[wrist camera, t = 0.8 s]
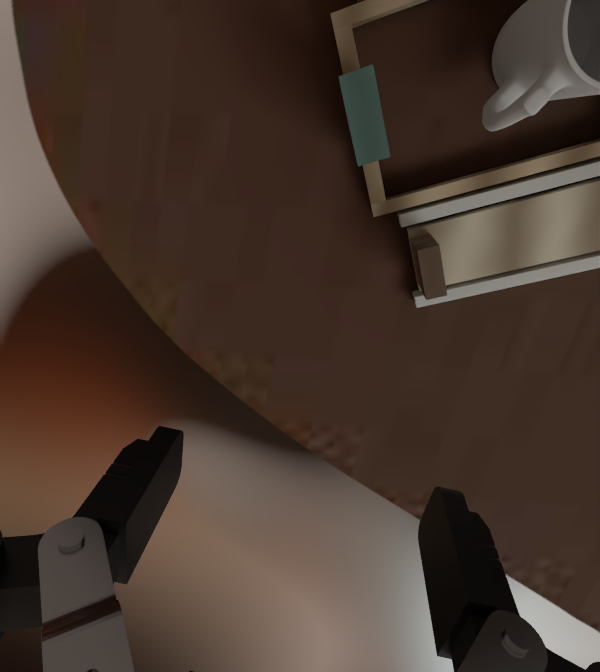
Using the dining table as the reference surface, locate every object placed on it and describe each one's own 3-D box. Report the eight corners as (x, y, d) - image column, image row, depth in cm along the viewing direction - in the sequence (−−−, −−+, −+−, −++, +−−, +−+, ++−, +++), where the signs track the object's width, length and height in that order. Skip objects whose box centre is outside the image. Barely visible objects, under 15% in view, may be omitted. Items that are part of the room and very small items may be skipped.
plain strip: (633, 168, 32) (682, 173, 27) (631, 237, 34) (676, 253, 29) (406, 227, 36) (415, 241, 31) (417, 286, 38) (427, 308, 33)
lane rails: (647, -129, 26) (664, -145, 24) (635, 251, 35) (648, 256, 33) (354, -15, 29) (354, -23, 28) (414, 301, 39) (416, 307, 37)
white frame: (631, -95, 26) (746, -189, 18) (626, 145, 31) (714, 148, 24) (325, 20, 30) (318, -19, 23) (368, 215, 35) (373, 237, 28)
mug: (551, -35, 28) (680, -143, 17) (610, 46, 29) (762, -6, 18) (431, 96, 32) (473, 75, 21) (488, 162, 33) (555, 174, 22)
